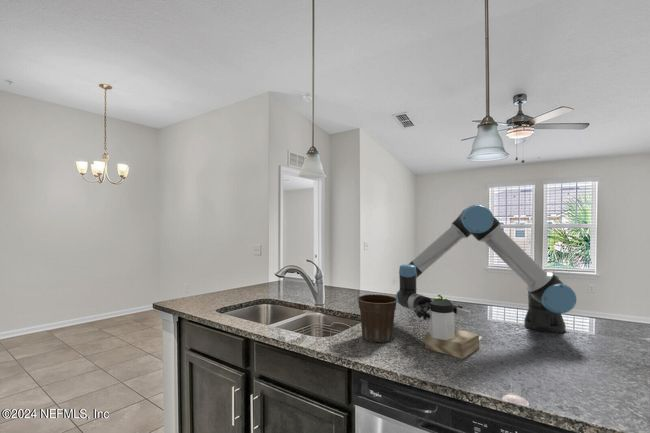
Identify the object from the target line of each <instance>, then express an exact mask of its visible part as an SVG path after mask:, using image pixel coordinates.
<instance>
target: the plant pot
mask: <svg viewBox="0 0 650 433" xmlns="http://www.w3.org/2000/svg"><path fill="white" fill-rule="evenodd" d="M356 299H357V301H358V302H357V303H358V308H359V316H360V326H361V335H362V336H361V337H362V339H363V340H364V341H367V342H369V343H373V344H375V343H377V342H378V343H380V344H383V343H390V342H391V341H393V337H394V336H393V335H394V326H395V325H394V322H395V311H396V309H397V298H396V296H395V297H394V296H391V295H387V294H375V293H374V294H363V295H360V296H358V297H357V298H356Z"/></svg>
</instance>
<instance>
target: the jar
mask: <svg viewBox="0 0 650 433" xmlns="http://www.w3.org/2000/svg"><path fill="white" fill-rule="evenodd" d="M450 302H451V301H450ZM450 302H446V301H434V300H432V302H430V309H429V314H430V319H428V320H429V321H428V322H429V327H428V328H429V332H430V335H431V336H432V338H436V339H441V340H449V339H454V338H455V329H456V328H455V313H454V312H453V305H454V303H453V302H451V303H450Z"/></svg>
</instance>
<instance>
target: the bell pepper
mask: <svg viewBox="0 0 650 433" xmlns="http://www.w3.org/2000/svg"><path fill="white" fill-rule="evenodd" d="M437 297H439V298H434V300H433V301H446V302H450V303H452V302H451V300H449V299H448V298H443V296H442V295H441V294H437Z"/></svg>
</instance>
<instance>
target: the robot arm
mask: <svg viewBox="0 0 650 433" xmlns="http://www.w3.org/2000/svg"><path fill="white" fill-rule="evenodd" d="M501 225H502V224H501V222H500V221H499V220H498V219H497V218H496V217H495V216H494V215H493V213H492V211H491V209H490V208H488V207H486V206H484V205H482V204H473V205H472V204H471V205H469V206H468V207H466V208H465V209H463V210H462V211H461V213H460V214H459V215H458V217H456V219H454V221H452V222H451V226H450V227H449V228H448V229H447V230H445V231H444V232H443V233H442V234H441V235H440V236H438V238H436V239H435V240H434V241H433V242H432V243H430V244H429V245H428V246H427V247H426V248H425V249H424V250H423V251H422V252H421V253H419V254H418V255H417V256H416V257H415V258H414V259H412V261H410V262H409V263H408V264H401V265H399V269H398V270H399V271H398V275H399V278H398V279H399V290H398V291H396V295H395V298H397V302H396V304H398V305H400V306H401V307H402V308H405V309H408V310H411V311H413V312H414V313H416V315H417V317H418V319H419V318H422V319H423V320H427V319H428V320H429V319H430V314H429V309H430V302H432V301H433V300H432V298H430V297H428V296H424V295H422V294H420V293H418V292H417V289H418V288H417V278H419V277H420V276H421V275H422V274H423V273H424V272H425V271H426V270H428V269H429V268H430V267H431V266H432V265H434V263H436V262H437V261H438V260H440V258H442V257H443V256H444V255H446V254H447V253H448V252H449V251H450V250H451V249H452V248H453V247H455V246H456V245H457V244H458V243H459V242H461V240H463V239H468V238H469V237H470V236H473V237H474V239H476V240H477V241H478V242H483V243H485V244H486V246H488V247H489V249H491V250H492V251H493V252H494V254H496V255H497V256H498V257H499V258H500V259H501V260H502V262H504V263H505V264H506V265H507V266H508V267H509V268H510V269H511V271H513V272H514V273H515V274H516V275H517V276H518V277H519V279H521V280H522V281H523V282H524V283H525V284H526V285H527V286H526V287H527V288H526V290H527V301H528V304H527V305H528V308H527V311H526V314H525V317H524V321H523V322H524V326H525V327H526V328H529V329H531V330H535V331H537V332H538V331H539V332H545V333H564V332H566V330H567V329H566V328H567V327H566V323H565V320H564V318H563V315H562V314H565V313H569V312H570V311H572V310H573V309H574V308H575V306H576V305H577V295H576V293H575V291H574V290H573V288H571V287H570V286H568V285H567V284H565V283H564V282H563V281H562V280H560V277H559V276H558V275H556V274H555V273H553V272H550V271H545V270H544V268H542V267H541V266H540V265H539V264H538V263H537V262H536V261H535V260H534V259H533V258H532V257H531V256H530V255H529V254H528V253H527V252H526V251H525V250H524V249H522V248H521V247H520V245H518V244H517V243H516V242H515V241H514V240H513V239H512V238H511V237H510V236H509V235H508V234H507V233H506V232H505V231H504V230H503V229H502V227H501ZM453 312H454V315H455V314H456V315H457V316H459V317H462V318H464V319H468V320H470V319H471V311H470V310H466V309H463V306H460V304H459V305H455V304H453Z"/></svg>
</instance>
